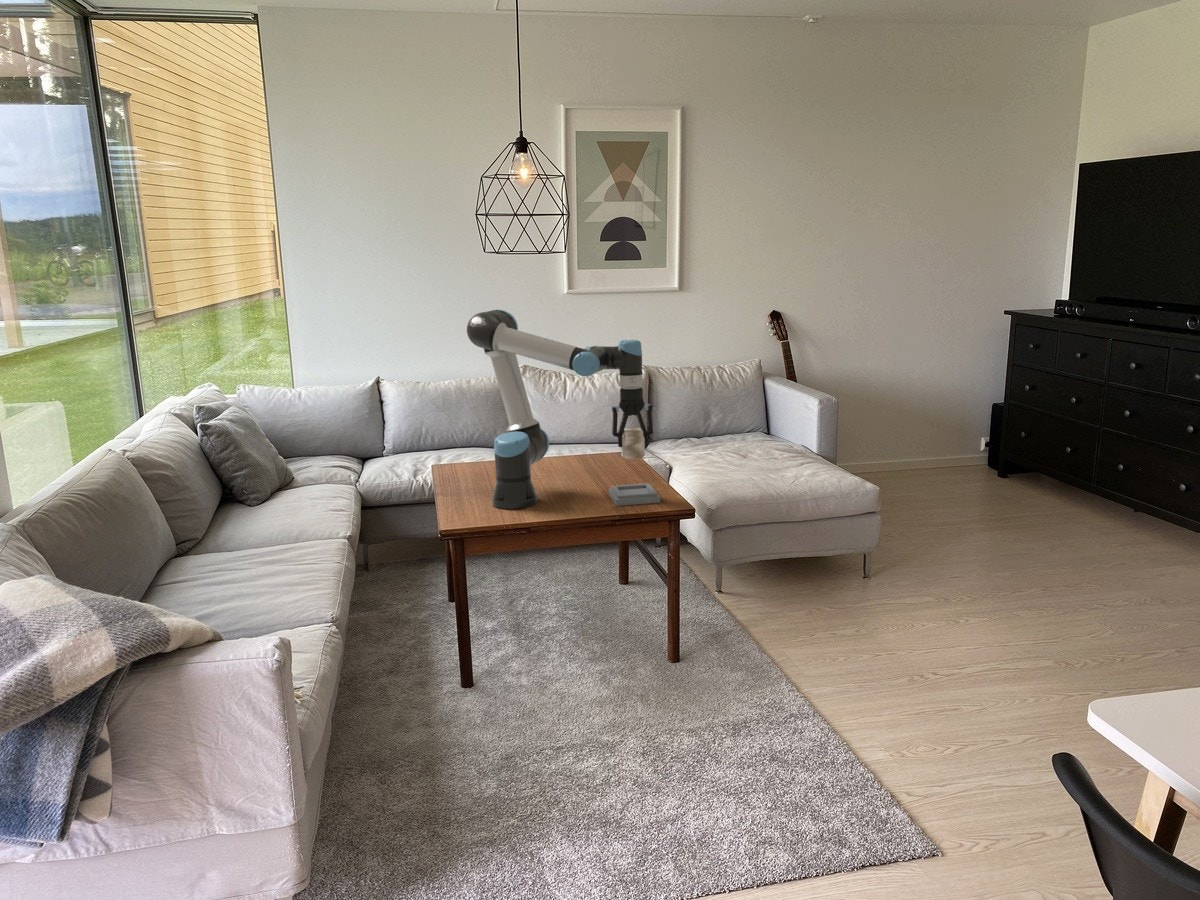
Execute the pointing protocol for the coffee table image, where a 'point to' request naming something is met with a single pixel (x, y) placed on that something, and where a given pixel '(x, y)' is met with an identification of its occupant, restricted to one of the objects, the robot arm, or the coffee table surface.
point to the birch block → (633, 443)
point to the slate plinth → (634, 494)
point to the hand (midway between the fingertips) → (633, 455)
